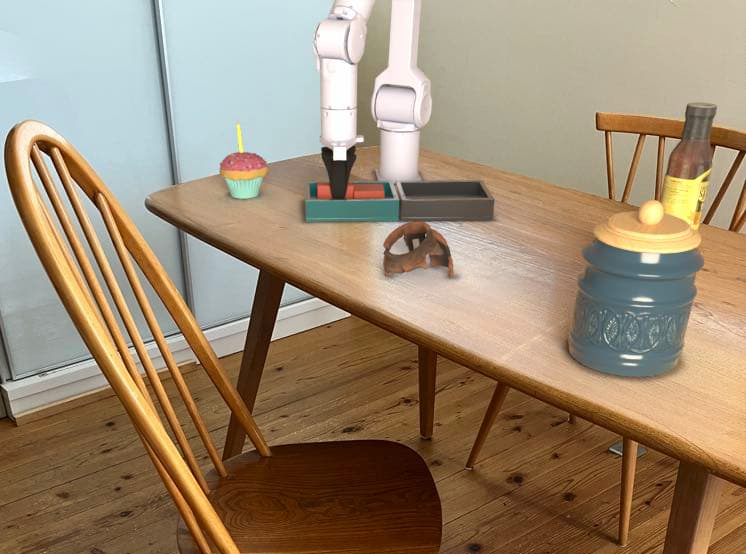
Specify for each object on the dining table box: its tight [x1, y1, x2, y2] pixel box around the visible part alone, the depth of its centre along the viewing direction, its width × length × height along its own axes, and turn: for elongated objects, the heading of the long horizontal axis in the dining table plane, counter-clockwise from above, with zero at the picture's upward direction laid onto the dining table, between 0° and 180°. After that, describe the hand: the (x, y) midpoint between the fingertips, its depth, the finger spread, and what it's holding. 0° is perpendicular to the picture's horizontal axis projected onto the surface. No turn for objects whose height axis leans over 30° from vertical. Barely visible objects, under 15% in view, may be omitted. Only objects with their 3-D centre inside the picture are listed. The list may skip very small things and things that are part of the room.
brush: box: [317, 182, 385, 199], centre depth 150 cm, size 5×11×3 cm, turn 91°
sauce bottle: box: [659, 102, 718, 233], centre depth 131 cm, size 7×6×20 cm
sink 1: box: [304, 180, 400, 223], centre depth 150 cm, size 12×15×3 cm
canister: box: [567, 199, 705, 378], centre depth 101 cm, size 13×13×18 cm
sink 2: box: [394, 179, 496, 222], centre depth 151 cm, size 12×15×3 cm
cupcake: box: [218, 119, 269, 200], centre depth 155 cm, size 9×8×12 cm
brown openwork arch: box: [382, 220, 455, 279], centre depth 126 cm, size 12×10×8 cm
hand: (338, 195), depth 150 cm, fingers closed on brush, 2 cm apart
